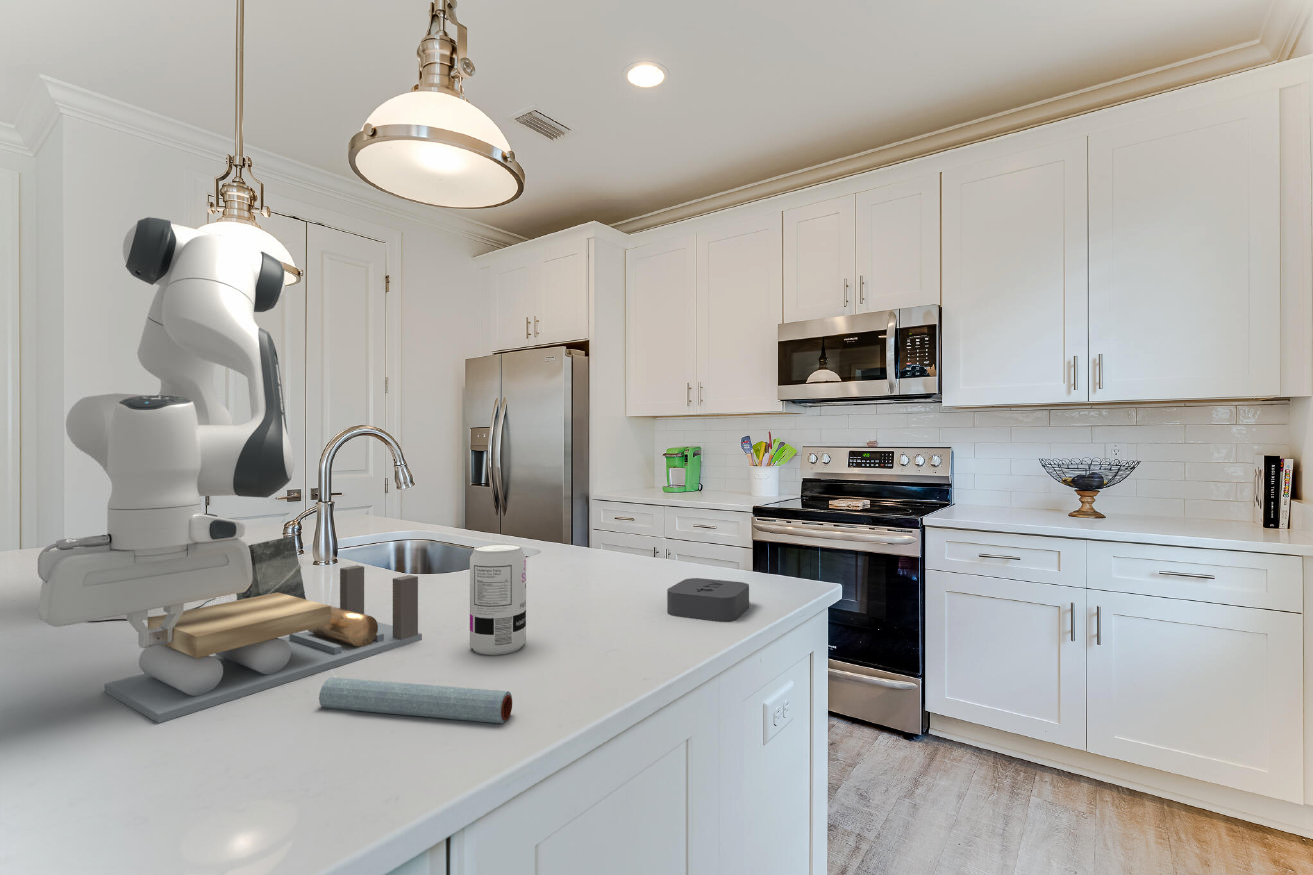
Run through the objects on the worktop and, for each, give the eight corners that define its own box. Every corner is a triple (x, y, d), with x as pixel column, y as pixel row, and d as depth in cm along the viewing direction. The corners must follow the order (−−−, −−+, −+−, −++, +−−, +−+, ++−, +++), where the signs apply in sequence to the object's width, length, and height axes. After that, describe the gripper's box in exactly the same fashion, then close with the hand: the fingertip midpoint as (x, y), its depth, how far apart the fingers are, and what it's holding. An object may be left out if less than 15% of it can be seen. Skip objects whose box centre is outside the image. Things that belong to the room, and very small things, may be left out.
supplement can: (458, 647, 94) (458, 547, 94) (506, 635, 101) (506, 541, 101) (488, 660, 89) (488, 554, 89) (536, 646, 95) (536, 546, 95)
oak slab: (147, 637, 81) (147, 618, 81) (277, 609, 94) (277, 592, 94) (196, 658, 73) (196, 636, 73) (330, 623, 87) (330, 605, 87)
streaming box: (732, 625, 106) (731, 598, 106) (662, 617, 111) (662, 591, 111) (752, 607, 118) (752, 583, 118) (688, 600, 123) (688, 577, 123)
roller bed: (104, 691, 78) (104, 611, 78) (361, 623, 107) (361, 564, 107) (158, 723, 69) (158, 632, 69) (421, 639, 98) (421, 575, 98)
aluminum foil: (513, 716, 72) (513, 686, 72) (487, 743, 66) (487, 711, 66) (337, 701, 76) (337, 672, 76) (296, 725, 70) (296, 694, 70)
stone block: (238, 641, 98) (262, 635, 96) (220, 550, 99) (243, 543, 97) (289, 624, 106) (312, 619, 105) (271, 541, 108) (294, 534, 106)
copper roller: (300, 633, 96) (308, 603, 97) (328, 633, 100) (335, 604, 101) (346, 647, 90) (354, 615, 91) (374, 646, 93) (380, 616, 94)
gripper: (46, 544, 66) (46, 677, 66) (258, 522, 83) (258, 627, 83) (28, 539, 69) (28, 665, 69) (235, 518, 86) (235, 620, 86)
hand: (155, 644), depth 76 cm, fingers closed
